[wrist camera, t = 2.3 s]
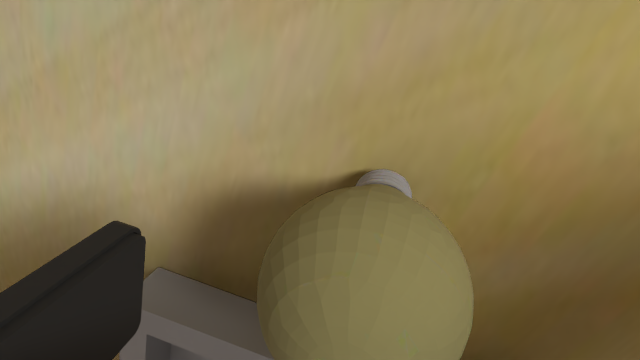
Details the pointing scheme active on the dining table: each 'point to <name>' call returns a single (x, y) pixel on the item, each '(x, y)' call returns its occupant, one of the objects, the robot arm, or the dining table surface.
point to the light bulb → (365, 279)
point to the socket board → (194, 323)
